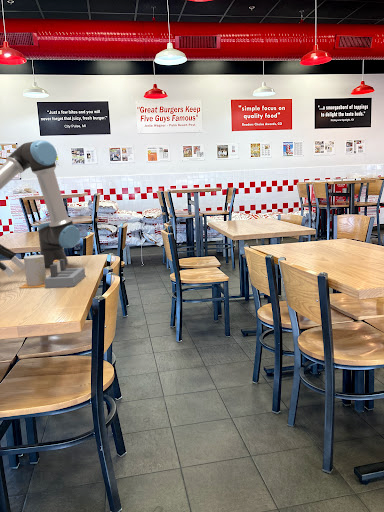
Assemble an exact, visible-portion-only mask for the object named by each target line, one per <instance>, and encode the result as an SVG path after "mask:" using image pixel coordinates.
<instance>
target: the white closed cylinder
mask: <svg viewBox="0 0 384 512" xmlns="http://www.w3.org/2000/svg"><path fill="white" fill-rule="evenodd" d="M23 263H24V264H25V267H24V271H25V278H26V279H25V281H26V283H27V285H28V286H37V285H43V284H45V280H44V279H45V278H46V277H47V275H46V268H45V263H44V256H43V255H40V254H34V255H26V256H24V257H23Z"/></svg>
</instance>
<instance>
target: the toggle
mask: <svg viewBox="0 0 384 512" xmlns="http://www.w3.org/2000/svg"><path fill="white" fill-rule="evenodd" d="M53 264H57V272H58V273H59V272H61V269H60V261H59V260H54V262H53Z"/></svg>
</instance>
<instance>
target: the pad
mask: <svg viewBox="0 0 384 512" xmlns="http://www.w3.org/2000/svg"><path fill="white" fill-rule="evenodd" d="M38 288H45V284H43V285H37V286H28V285H27V282H26V283H24V284H23V285H21V286H20V287H19V289H38Z"/></svg>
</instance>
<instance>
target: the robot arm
mask: <svg viewBox="0 0 384 512" xmlns="http://www.w3.org/2000/svg"><path fill="white" fill-rule="evenodd" d="M57 158H58V152H57V150H56V148H55V146H54V145H53V144H52V143H50V142H49V141H47V140H35V141H29V142H25V143H23V144H20V146H18V147H17V148H15V150H13V152H12V153H10V155H8V156H7V157H6V161H5V162H4V163H3V164H1V166H0V191H1V190H2V189H4V187H6V185H7V184H8V183H10V181H12V180H13V179H14V178H15V177H16V176H17V175H18V174H22V173H24V172H25V171H26V170H28V169H29V168H30V170H31V172H32V173H33V174H35V175H36V178H37V181H38V184H39V187H40V190H41V193H42V198H43V200H44V204H45V206H46V210H47V213H48V216H49V219H50V220H49V221H50V222H45V223H44V222H43V223H39V224H38V226H37V233H38V238H39V239H38V240H39V249H40V254H39V255H43V256H44V263H45V269H46V268H49V269H50V265H52V264H53V262H54V260H60V259H65V266H66V265H68V264H69V262H68V261H69V260H68V258H67V255H66V253H65V251H64V249H71V248H75V246H77V245H78V243H79V242H80V239H81V231H80V229H79V228H78V227H77V226H76V225H74V221H73V219H72V218H71V217H69V216H68V212H67V210H66V206H65V202H64V199H63V196H62V192H61V189H60V186H59V182H58V179H57V176H56V173H55V169H56V168H57V165H56V161H57ZM0 255H1V257H5V258H7V259H9V260H10V261H11V262H12V263H13V264H14V265H15V266H16V267H17V268H19V269H20V270H21V271H23V270H25V264H24V261H22V260H20V259H19V257H17V256H16V255H17V253H16V252H14V251H12V250H11V249H9V248H7V247H6V246H4V245H3V244H0ZM0 271H2V272H3V273H5V274H6V275H7V276H8V277H12V276H13V274H14V273H15V270H13V268H11V267H10V266H9V265H7V264H6V263H5V262H3V261H1V260H0Z"/></svg>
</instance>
